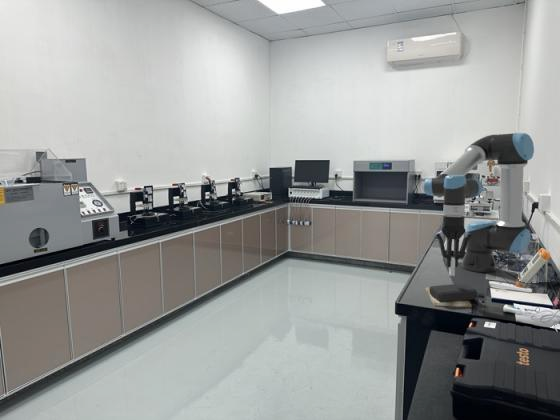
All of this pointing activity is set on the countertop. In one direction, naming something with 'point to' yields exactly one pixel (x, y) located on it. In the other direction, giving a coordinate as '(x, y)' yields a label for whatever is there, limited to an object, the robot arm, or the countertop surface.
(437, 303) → the birch board
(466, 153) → the robot arm
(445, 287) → the card reader
